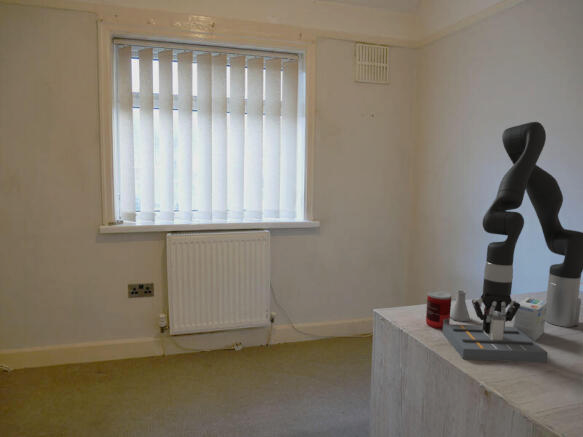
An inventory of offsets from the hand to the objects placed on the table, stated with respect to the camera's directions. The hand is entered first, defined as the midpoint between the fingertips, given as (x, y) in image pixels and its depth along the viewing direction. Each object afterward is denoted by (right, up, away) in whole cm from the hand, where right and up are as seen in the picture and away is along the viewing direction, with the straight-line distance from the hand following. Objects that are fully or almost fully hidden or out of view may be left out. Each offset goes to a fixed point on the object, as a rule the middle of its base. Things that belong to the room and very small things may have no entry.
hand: (492, 332), depth 121 cm
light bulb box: (+17, -4, +11) cm, 20 cm away
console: (0, -4, +1) cm, 4 cm away
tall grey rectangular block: (0, -1, 0) cm, 1 cm away
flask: (0, -2, +23) cm, 24 cm away
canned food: (-11, -2, +17) cm, 20 cm away
